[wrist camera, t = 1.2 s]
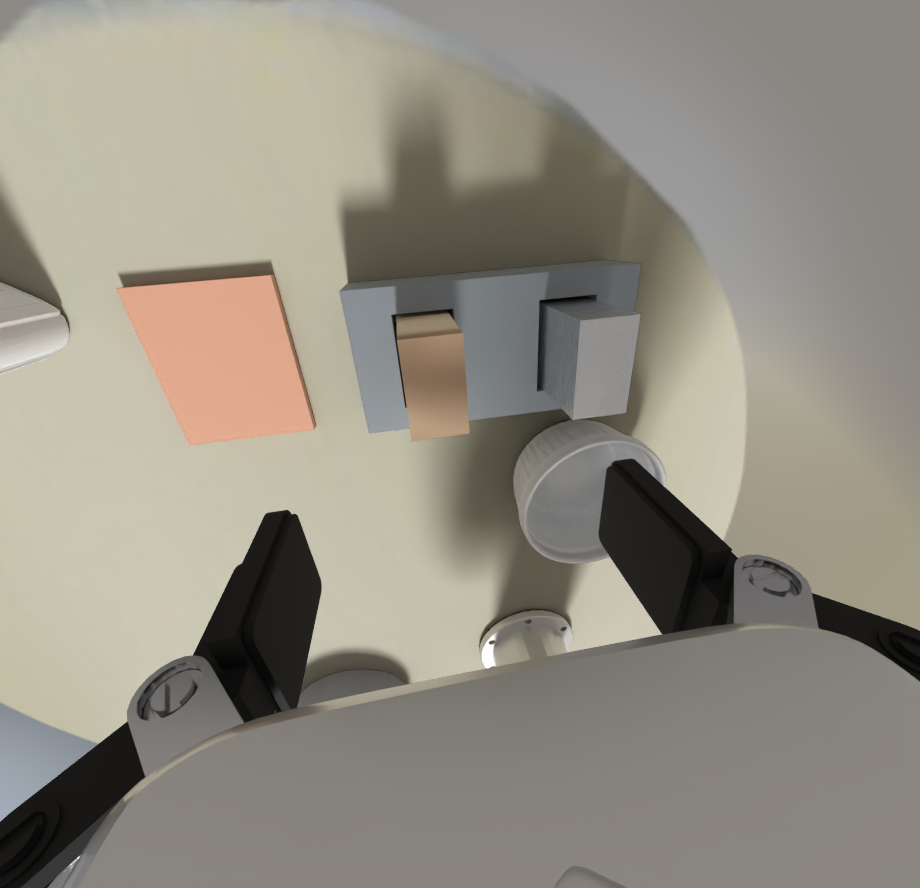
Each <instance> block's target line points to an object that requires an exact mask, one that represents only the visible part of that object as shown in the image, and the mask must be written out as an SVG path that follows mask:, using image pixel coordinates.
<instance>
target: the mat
mask: <svg viewBox="0 0 920 888" xmlns="http://www.w3.org/2000/svg"><path fill="white" fill-rule="evenodd" d="M116 290H117V292H118V294H119V296H120V299H121V301H122V303H123V305H124V307H125V309H126V311H127V313H128V316H129V318H130V320H131V322H132V324H133V326H134V328H135V331H136V333H137V335H138V337H139V339H140V341H141V343H142V345H143V348H144V350H145V352H146V354H147V356H148V358H149V360H150V363H151V365H152V367H153V369H154V371H155V373H156V375H157V377H158V380H159V382H160V384H161V386H162V388H163V390H164V392H165V395H166V397H167V399H168V401H169V403H170V405H171V407H172V409H173V412H174V414H175V416H176V418H177V420H178V422H179V424H180V427H181V429H182V431H183V433H184V435H185V437H186V439H187V441H188V444H189V445H196V444H204V443H212V442H220V441H228V440H236V439H244V438H252V437H260V436H268V435H276V434H284V433H292V432H299V431H307V430H314V429H315V427H316V424H315V420H314V417H313V413H312V410H311V406H310V402H309V399H308V395H307V392H306V388H305V384H304V381H303V377H302V374H301V370H300V367H299V363H298V359H297V356H296V352H295V349H294V345H293V341H292V338H291V334H290V331H289V327H288V324H287V320H286V316H285V313H284V309H283V306H282V302H281V298H280V295H279V291H278V288H277V284H276V281H275V277H274V274H272V275H260V276H249V277H237V278H226V279H214V280H203V281H191V282H179V283H168V284H156V285H145V286H133V287H122V288H117V289H116Z"/></svg>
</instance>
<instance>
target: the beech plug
mask: <svg viewBox="0 0 920 888" xmlns="http://www.w3.org/2000/svg"><path fill="white" fill-rule="evenodd" d="M396 318H397V344H398V351H399V358H400V364H401V371H402V378H403V385H404V391H405V398H406V405H407V412H408V418H409V425H410V432H411V439H412V441H417V440H424V439H432V438H440V437H447V436H455V435H462V434H470V431H469V416H468V400H467V385H466V370H465V354H464V339H463V332H462V331H461V329H460V328H459V327H458V325H457V324H456V322H455V321H454V320H453V318H452V317H451V316H450V314H449V313H448V311H447V310H446V309H444V310H434V311H424V312H414V313H404V314H396Z"/></svg>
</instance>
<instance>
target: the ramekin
mask: <svg viewBox="0 0 920 888" xmlns="http://www.w3.org/2000/svg"><path fill="white" fill-rule="evenodd" d="M630 458H632V459H635V460H636V461H637V462H638V463H639V464H640V465H642V466H643V467H644V468H645V469H646V470H647V471H648V472H649V473H650V474H651V475H652V476H653V477H654V478H656V479H657V480H658V481H659V482H660V483H661V484H662V485H663V486H664V487H665V488H666V489H667V476H666V472H665V469H664V466H663V465H662V463H661V461H660V459H659V458H658V457H657V455H656V454H655V453H654V452H653V451H652V450H651V449H650V448H648V447H647V446H646V445H645V444H643V443H642V442H641V441H639V440H637V439H635V438H633V437H630V436H627V435H624V434H622V433H620V432H618V431H617V430H615V429H613V428H611V427H609V426H607V425H605V424H603V423H599V422H596V421H589V420H578V419H577V420H569V421H566V422H561V423H559V424H556V425H553V426H551V427H550V428H547V429H545V430H544V431H543V432H541V433H539V434H538V435H537V436H536V437H534V438H533V439H532V440H531V442H529V443H528V444H527V446H526V447H525V448H524V450H523V451H522V453H521V454H520V456H519V458H518V460H517V462H516V466H515V469H514V475H513V487H514V494H515V499H516V503H517V506H518V510H519V520H520V525H521V528H522V530H523V532H524V534H525V536H526V538H527V540H528V542H529V543H530V545H531V546H532V547H533V548H534V549H535V550H536V551H537V552H538V553H540V554H541V555H543V556H544V557H546V558H548V559H550V560H553V561H557V562H561V563H568V564H582V563H589V562H594V561H598V560H602V559H605V558H607V557H610V556H609V555H608V553H607V552H606V550H605V549H604V547H603V546H602V544H601V542H600V539H599V534H598V533H599V524H600V516H601V509H602V501H603V493H604V485H605V478H606V470H607V468H608V467H609V466H611V464H612V463H613V462H614V461H617V460H623V459H630Z"/></svg>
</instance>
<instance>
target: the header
mask: <svg viewBox="0 0 920 888" xmlns="http://www.w3.org/2000/svg"><path fill="white" fill-rule="evenodd" d="M640 270H641V263H632V262H622V261H612V260H598V261H587V262H576V263H565V264H554V265H543V266H532V267H521V268H510V269H498V270H487V271H476V272H465V273H454V274H443V275H432V276H421V277H410V278H399V279H387V280H376V281H365V282H354V283H348V284H346V285H345V286H344V287H343V288H342V289H341V290H340V296H341V301H342V306H343V311H344V316H345V320H346V325H347V330H348V335H349V340H350V345H351V349H352V354H353V359H354V364H355V369H356V373H357V378H358V383H359V388H360V393H361V398H362V402H363V407H364V412H365V417H366V422H367V427H368V431H369V433H377V432H385V431H393V430H401V429H408V428H410V425H409V418H408V412H407V405H406V398H405V391H404V385H403V378H402V371H401V364H400V358H399V351H398V344H397V335H396V329H395V322H394V314H404V313H414V312H424V311H434V310H444V309H446V310H447V311H448V313H449V314H450V316H451V317H452V318H453V320H454V321H455V322H456V324H457V325H458V327H459V328H460V329H461V331H462V332H463V339H464V354H465V370H466V385H467V400H468V416H469V421H471V420H479V419H487V418H494V417H502V416H510V415H518V414H526V413H533V412H541V411H549V410H557V409H561V408H560V407H559V406H558V405H557V404H556V403H555V401H554V400H553V399H552V398H551V397H550V396H549V395H548V394H547V393H546V392H545V391H544V390H543V389H542V388H541V387H540V386H539V385H538V384H537V370H538V334H539V300H545V299H556V298H566V297H576V296H583V297H586V298H590V299H593V300H596V301H599V302H602V303H606V304H609V305H612V306H615V307H619V308H622V309H625V310H628V311H632V312H635V305H636V298H637V291H638V284H639V277H640Z"/></svg>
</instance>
